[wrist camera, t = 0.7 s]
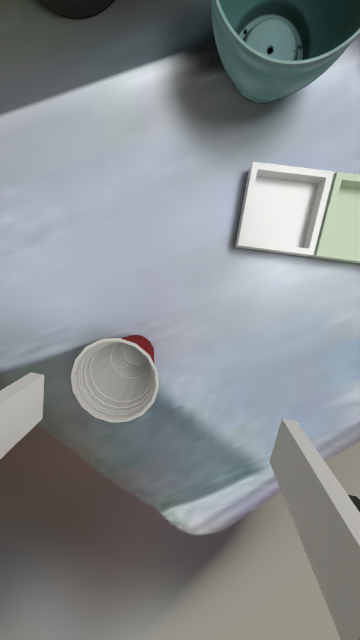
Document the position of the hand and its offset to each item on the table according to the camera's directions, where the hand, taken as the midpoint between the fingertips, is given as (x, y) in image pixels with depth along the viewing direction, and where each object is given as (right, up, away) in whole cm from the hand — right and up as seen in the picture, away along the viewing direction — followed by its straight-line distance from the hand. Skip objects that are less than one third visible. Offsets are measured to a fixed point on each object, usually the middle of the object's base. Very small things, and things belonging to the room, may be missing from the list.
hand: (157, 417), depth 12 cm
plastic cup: (-6, 0, +27) cm, 27 cm away
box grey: (+15, +21, +21) cm, 33 cm away
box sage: (+26, +19, +20) cm, 39 cm away
